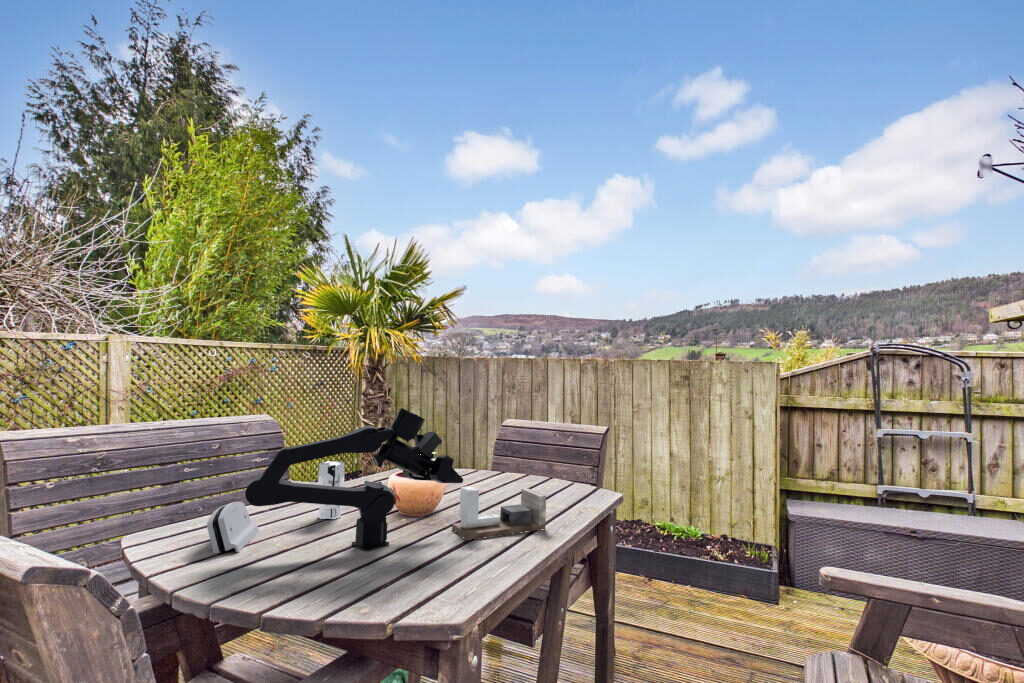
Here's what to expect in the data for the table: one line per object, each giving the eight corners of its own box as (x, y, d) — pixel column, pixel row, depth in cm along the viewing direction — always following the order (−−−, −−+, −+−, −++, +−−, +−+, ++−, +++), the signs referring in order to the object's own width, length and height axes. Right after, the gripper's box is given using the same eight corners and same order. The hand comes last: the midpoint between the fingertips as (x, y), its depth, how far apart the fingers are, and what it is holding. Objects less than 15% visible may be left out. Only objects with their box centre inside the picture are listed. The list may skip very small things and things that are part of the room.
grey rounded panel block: (238, 553, 112) (224, 510, 112) (215, 561, 111) (201, 518, 111) (259, 530, 129) (247, 493, 129) (240, 537, 128) (228, 500, 128)
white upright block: (337, 521, 139) (339, 465, 140) (311, 520, 139) (314, 464, 140) (345, 514, 146) (348, 461, 147) (321, 513, 146) (324, 460, 147)
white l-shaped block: (466, 529, 129) (468, 490, 129) (459, 524, 133) (460, 486, 134) (501, 525, 133) (502, 487, 134) (493, 520, 138) (494, 484, 138)
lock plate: (466, 540, 126) (468, 503, 126) (451, 529, 135) (453, 494, 135) (545, 529, 137) (546, 495, 137) (526, 520, 146) (527, 488, 146)
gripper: (435, 425, 121) (484, 451, 129) (400, 426, 135) (446, 450, 143) (416, 469, 116) (468, 494, 124) (382, 466, 131) (430, 489, 138)
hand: (452, 480), depth 132 cm, fingers open, 9 cm apart
